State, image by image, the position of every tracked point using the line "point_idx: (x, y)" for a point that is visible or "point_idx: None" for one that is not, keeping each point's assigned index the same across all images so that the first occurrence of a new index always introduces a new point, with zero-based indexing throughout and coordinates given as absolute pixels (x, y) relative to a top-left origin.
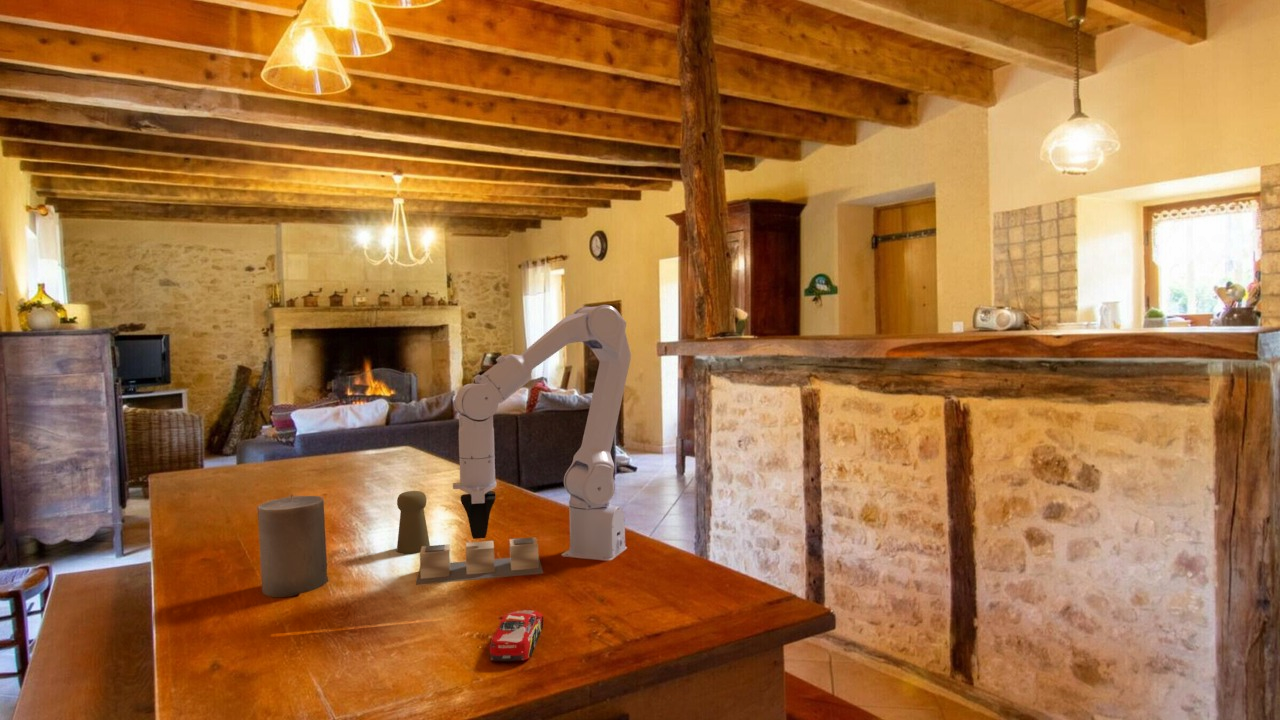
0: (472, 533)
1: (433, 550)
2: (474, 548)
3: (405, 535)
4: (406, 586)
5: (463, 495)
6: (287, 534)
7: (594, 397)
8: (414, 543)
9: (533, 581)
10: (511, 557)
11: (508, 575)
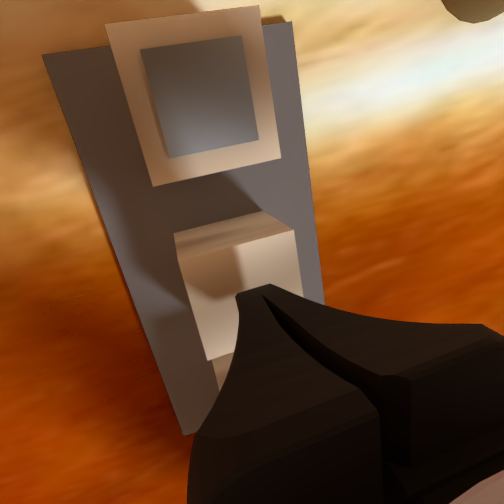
0: (238, 305)
1: (155, 100)
2: (204, 290)
3: None
4: (51, 8)
5: (477, 374)
6: None
7: None
8: None
9: (134, 423)
10: (217, 381)
11: (162, 360)
